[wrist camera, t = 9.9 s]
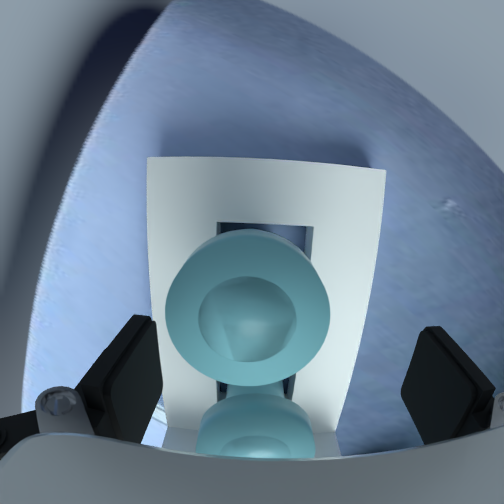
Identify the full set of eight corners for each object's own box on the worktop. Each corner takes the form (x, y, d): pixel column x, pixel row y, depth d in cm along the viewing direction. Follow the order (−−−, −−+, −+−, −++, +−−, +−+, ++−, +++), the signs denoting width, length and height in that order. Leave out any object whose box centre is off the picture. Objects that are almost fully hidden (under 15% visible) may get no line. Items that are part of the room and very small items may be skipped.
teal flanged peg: (303, 332, 23) (325, 417, 14) (293, 398, 25) (305, 483, 16) (211, 328, 23) (191, 414, 14) (212, 396, 25) (199, 480, 16)
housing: (371, 168, 20) (433, 175, 12) (327, 421, 26) (343, 488, 18) (159, 157, 19) (105, 156, 12) (174, 416, 25) (156, 483, 18)
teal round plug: (305, 209, 20) (341, 245, 12) (296, 305, 22) (317, 387, 14) (200, 204, 20) (161, 236, 12) (200, 301, 22) (171, 380, 14)
